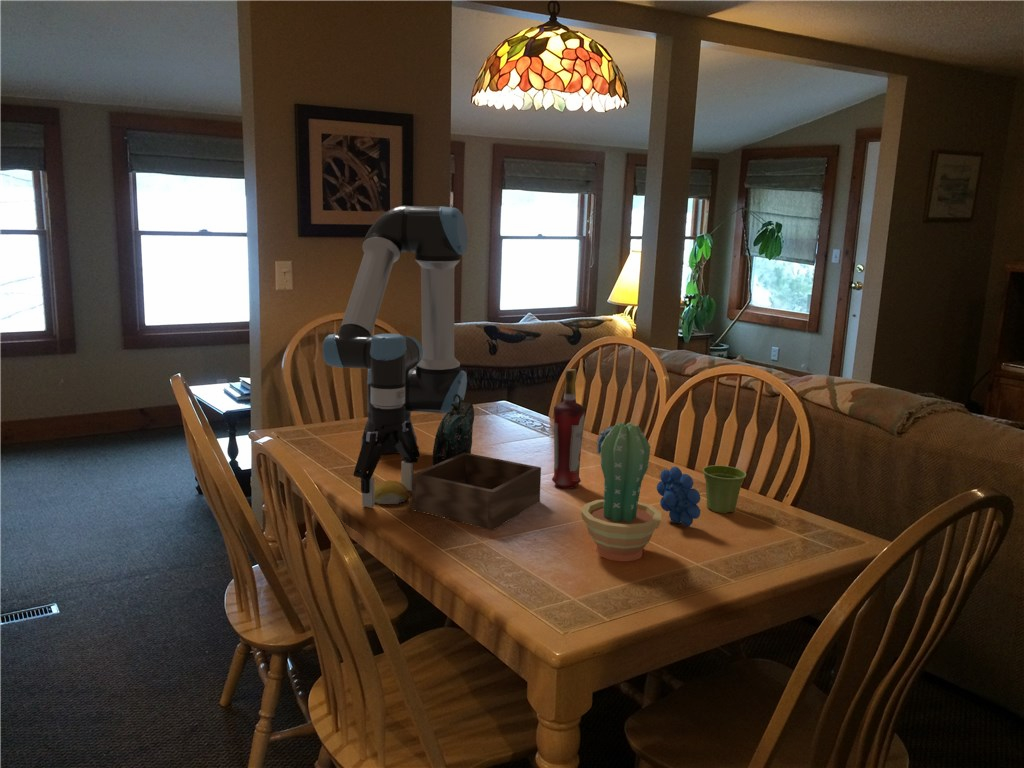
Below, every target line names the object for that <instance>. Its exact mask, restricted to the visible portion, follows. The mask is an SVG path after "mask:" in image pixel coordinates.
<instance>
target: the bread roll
mask: <svg viewBox="0 0 1024 768" xmlns="http://www.w3.org/2000/svg"><path fill="white" fill-rule="evenodd" d="M408 497H409V491H408V490H407V488H406V487H405V486H404V485H403V484H402V483H401V481H397V480H384V481H382V482H380V483H378V484H376V485H374V502H375V503H374V504H377V505H380V504H397V505H400V504H402V503H401V502H403V503H405V502H406V501H405V500H407V499H408ZM399 503H400V504H399Z"/></svg>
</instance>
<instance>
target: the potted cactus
mask: <svg viewBox="0 0 1024 768" xmlns="http://www.w3.org/2000/svg"><path fill="white" fill-rule="evenodd" d="M595 444H596V445H597V446H596V447H597V450H596V451H597V454H598V455H600V467H601V471H602V475H603V478H604V479H603V480H604V485H603V486H604V487H603V490H604V491H603V499H595V500H593V501H590V502H587V503H585V504H584V503H583V506H582V508H581V510H580V514H581V519H582V520H583V521H584V522H585V525H586V527H587V530H588V535H589V536H590V537H591V539H592V540H593V542H594V543H595V545H596V550H595V552H596V553H597V554H598V555H599V556H600V557H602V558H605V559H607V560H610V561H616V562H617V561H618V562H631V561H636V560H638V559H640V558H642V557H643V552H644V551H643V549H644V548H645V547H646V546H647V545H648V543H650V541H651V539H652V536H653V534H654V532H655V529H658V528H659V527H660V523H661V520H662V515H663V513H662V512H661V511H660V510H658V508H656V507H655V506H654V505H651V504H647V503H644V502H641V501H639V499H640V493H641V489H642V488H641V487H642V482H643V480H644V477H645V476H646V473H647V471H648V468H649V461H650V454H651V445H650V442H649V440H648V439H647V436H646V435H645V434H644V433H643V431H642V428H641V427H640V426H639V424H635V425H634V424H633V422H627V423H626V424H625V423H623V422H621V421H620V422H618V423H615V425H612V426H608V427H607V428H604V429H603V430H602V431H601V432H600V433H599V436H598V437H597V439H596V443H595Z"/></svg>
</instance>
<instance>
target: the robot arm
mask: <svg viewBox="0 0 1024 768" xmlns="http://www.w3.org/2000/svg"><path fill="white" fill-rule="evenodd" d="M468 241H469V240H468V229H467V225H466V220H465V217H464V215H463V213H462V212H461V210H459V208H457V207H452V206H451V207H449V206H443V205H441V206H437V205H436V206H435V205H433V206H429V205H427V206H424V205H423V206H422V205H421V206H420V205H417V206H416V205H399V206H396V207H393V208H391V209H389V210H387V211H386V212H384V213H383V214H381V216H379V217H378V218H377V219H376V221H375V222H374V223H373V224H372V225H371V227H370V228H369V229H368V231H367V233H366V235H365V237H364V240H363V243H362V251H363V256H362V260H361V262H360V265H359V268H358V271H357V275H356V278H355V280H354V284H353V286H352V290H351V293H350V296H349V300H348V303H347V306H346V309H345V313H344V315H343V319H342V322H341V325H340V327H339V330H338V332H337V333H332V334H330V333H329V334H327V335H326V337H325V338H324V339H323V343H322V350H321V351H322V352H321V353H322V358H323V361H324V363H325V364H326V365H327V366H330V367H335V368H341V369H345V368H347V369H367V382H366V387H367V388H366V391H367V392H366V396H367V397H366V398H367V399H366V402H367V406H366V407H367V420H366V424H365V427H364V430H363V434H362V436H361V439H360V441H361V442H360V446H361V448H360V451H359V454H358V458H357V461H356V465H355V468H354V471H353V476H354V477H356V478H359V479H360V491H361V493H362V494H361V500H362V501H361V503H362V504H361V506H362V507H367V508H370V509H373V508H375V503H374V487H375V477H372V476H373V475H374V473H375V471H376V468H377V466H378V464H379V462H380V460H381V457H382V456H383V454H385V455H386V454H389V455H390V454H391V455H393V454H400V456H401V458H402V459H403V460H402V461H400V462H401V463H400V467H401V469H400V476H401V477H400V482H401V483H402V484H403V485H404V486H405V487H406V488H407V490H408V492H412V474H414V463H415V464H416V463H418V459H419V458H420V456H421V452H420V450H419V447H418V438H417V435H416V433H415V429H414V425H413V422H412V419H411V418H412V417H411V414H412V413H411V412H417V413H418V412H419V413H433V414H434V413H435V414H441V415H443V414H447V413H448V412H450V411H451V408H452V405H451V404H455V403H457V402H458V403H459V398H458V396H456V398H455V401H453V396H454V395H455V394H458V395H459V396H460V397H461V398H462V399H463V401H464V399H465V396H466V391H467V386H468V377H467V376H468V375H467V372H466V371H465V370H461V362H460V361H459V360H458V359H457V358H456V356H455V268H456V265H458V264H459V263H460V262H461V256H462V255H465V254H466V252H467V250H468V243H469V242H468ZM406 252H407V253H414V261H415V262H416V263H418V265H419V266H420V288H421V289H420V293H421V294H420V295H421V296H420V297H421V302H420V303H421V342H420V341H419V340H418V339H417V338H416V337H413V336H409V335H405V336H404V335H402V334H399V333H379V334H374V335H373V336H372V334H373V331H374V328H375V324H376V322H377V319H378V315H379V311H380V309H381V305H382V302H383V299H384V295H385V293H386V289H387V286H388V282H389V279H390V276H391V272H392V269H393V266H394V263H396V262H398V260H399V259H400V257H401V254H403V253H406Z"/></svg>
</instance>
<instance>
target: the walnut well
mask: <svg viewBox="0 0 1024 768" xmlns="http://www.w3.org/2000/svg"><path fill="white" fill-rule="evenodd" d="M541 476H542V467H541V466H535V465H531V464H525V463H520V462H516V461H510V460H505V459H500V458H495V457H490V456H484V455H480V454H479V455H478V454H474V453H471V454H470V453H465V452H464V453H462V454H459V455H457V456H455V457H452V458H450V459H447V460H445V461H443V462H440V463H438V464H436V465H433V464H432V465H431V466H429V467H426V468H423V469H422V470H418V471H416V472H413V474H412V491H411V511H413V510H416V511H415V512H417V511H420V512H419V513H421V512H425V513H429V514H433V515H432V516H434V515H437V516H436V517H438V516H441V517H440V518H442V517H445V518H444V519H446V518H449V519H448V520H450V519H452V520H451V521H454V520H456V521H455V522H458V521H460V522H459V523H462V522H464V523H463V524H466V523H468V524H467V525H470V524H472V525H471V526H474V525H475V527H478V526H479V528H482V527H483V529H486V528H487V530H491V531H493V529H494V530H495V529H497V528H498V527H500V526H502V525H503V523H504V524H505V523H507V522H509V521H510V520H511V519H513V518H515V517H517V516H519V515H520V514H522V513H523V512H525V511H527V510H528V509H531V508H532V507H533V506H535V505H537V504H539V503H541V483H542V482H541V481H542V480H541V479H542V477H541ZM425 513H424V514H425ZM429 514H428V515H429ZM508 520H509V521H508ZM506 521H507V522H506Z"/></svg>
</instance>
